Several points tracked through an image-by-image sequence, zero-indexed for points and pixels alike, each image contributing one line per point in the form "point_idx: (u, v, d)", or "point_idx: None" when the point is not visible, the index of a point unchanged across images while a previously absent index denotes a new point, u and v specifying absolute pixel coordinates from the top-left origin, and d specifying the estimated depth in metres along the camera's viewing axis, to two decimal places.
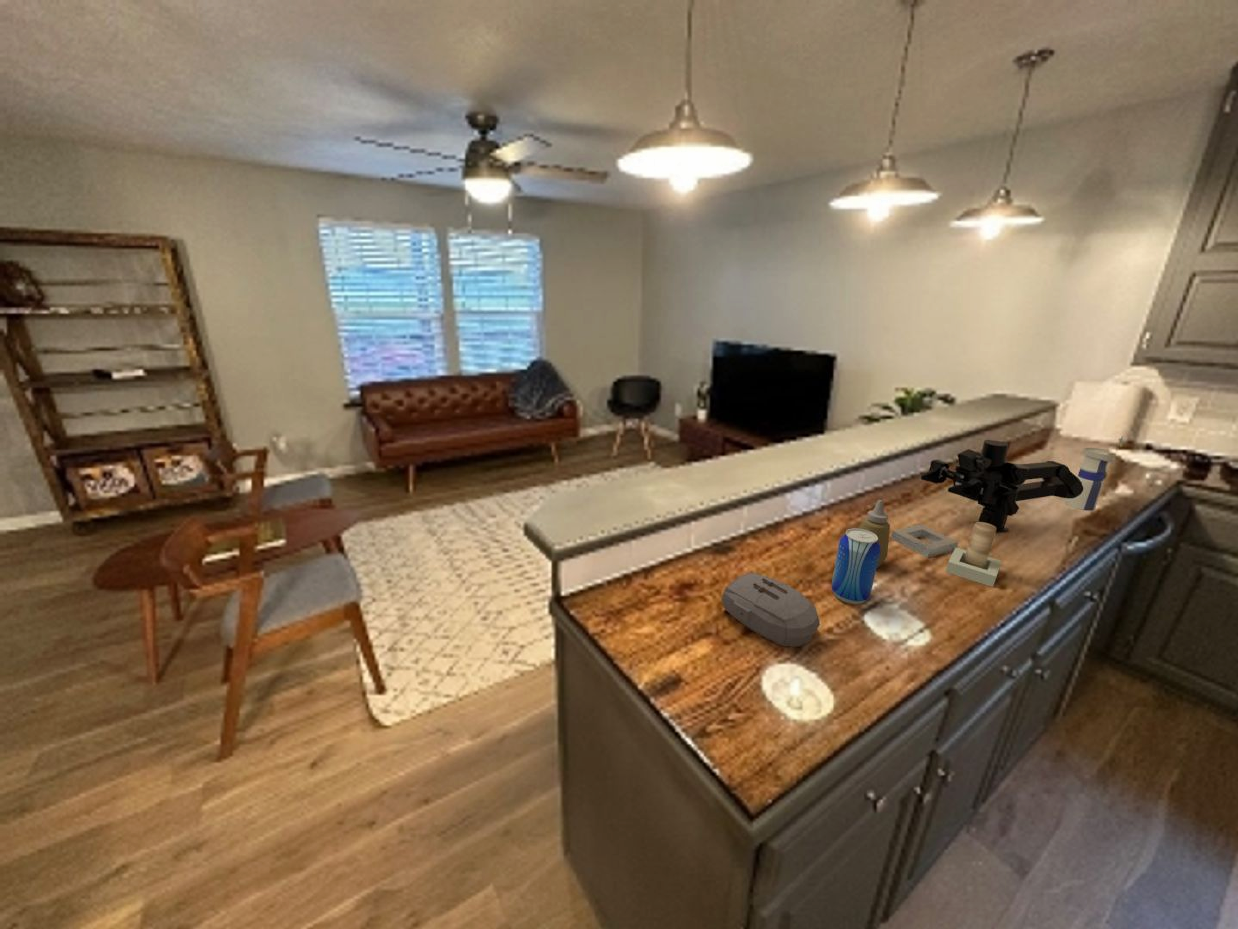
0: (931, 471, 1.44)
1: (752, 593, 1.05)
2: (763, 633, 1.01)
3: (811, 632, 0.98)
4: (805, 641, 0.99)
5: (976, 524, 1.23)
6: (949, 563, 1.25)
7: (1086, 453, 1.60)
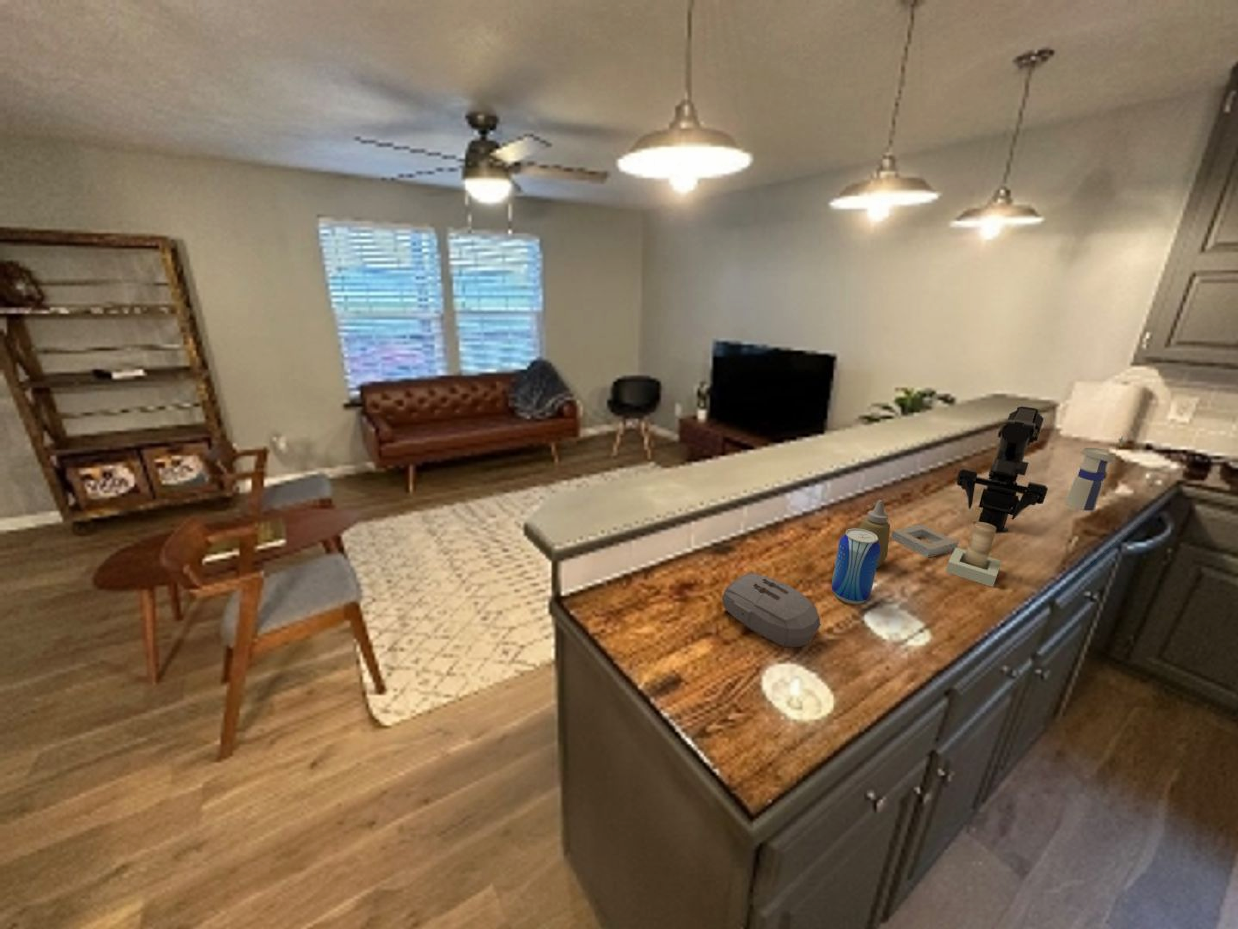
0: (971, 493, 1.31)
1: (753, 594, 1.04)
2: (764, 633, 1.00)
3: (812, 633, 0.98)
4: (806, 641, 0.99)
5: (976, 524, 1.23)
6: (949, 563, 1.25)
7: (1086, 453, 1.60)
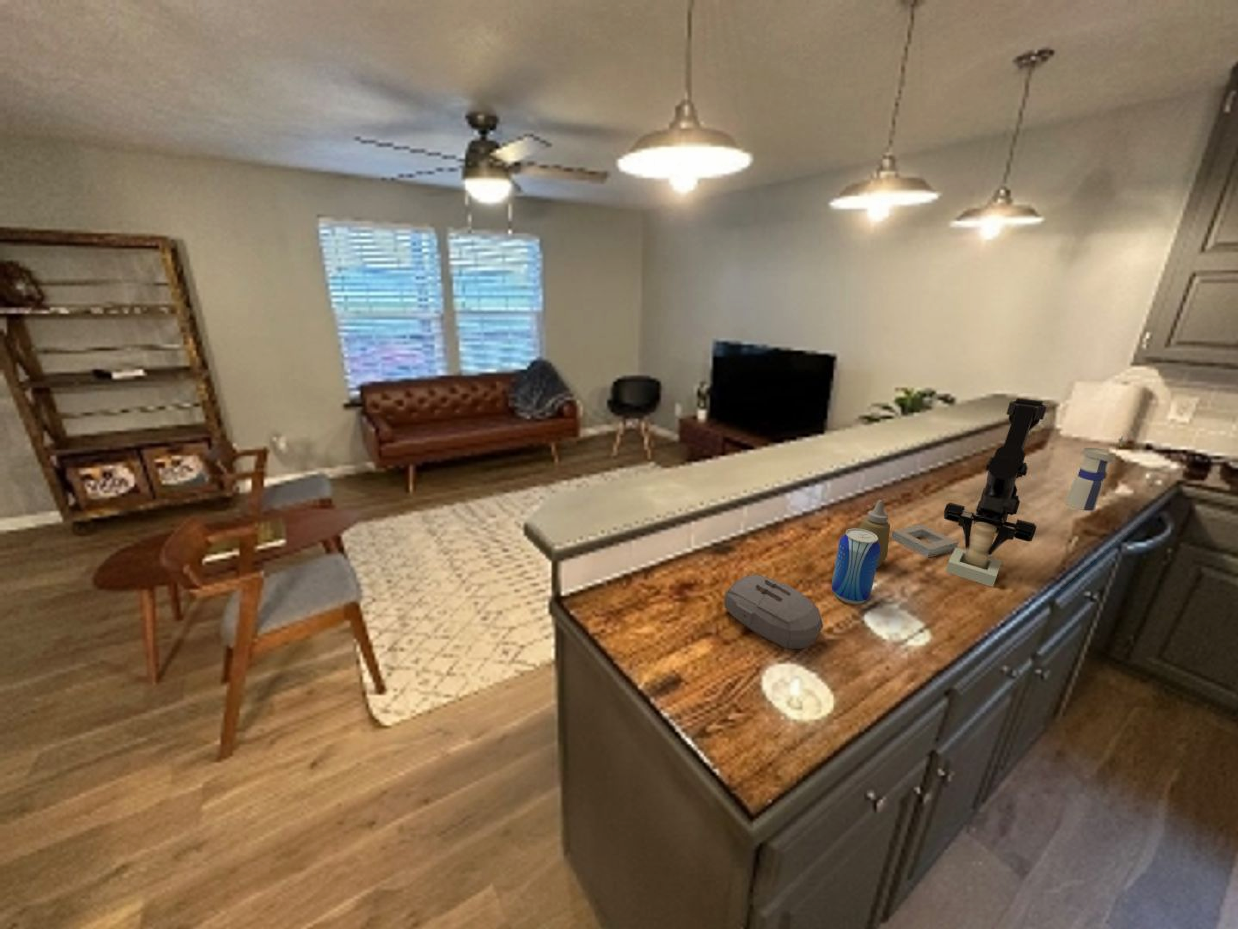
0: (968, 531, 1.26)
1: (755, 595, 1.04)
2: (766, 635, 1.00)
3: (815, 634, 0.98)
4: (808, 643, 0.99)
5: (976, 524, 1.23)
6: (949, 563, 1.25)
7: (1086, 453, 1.60)
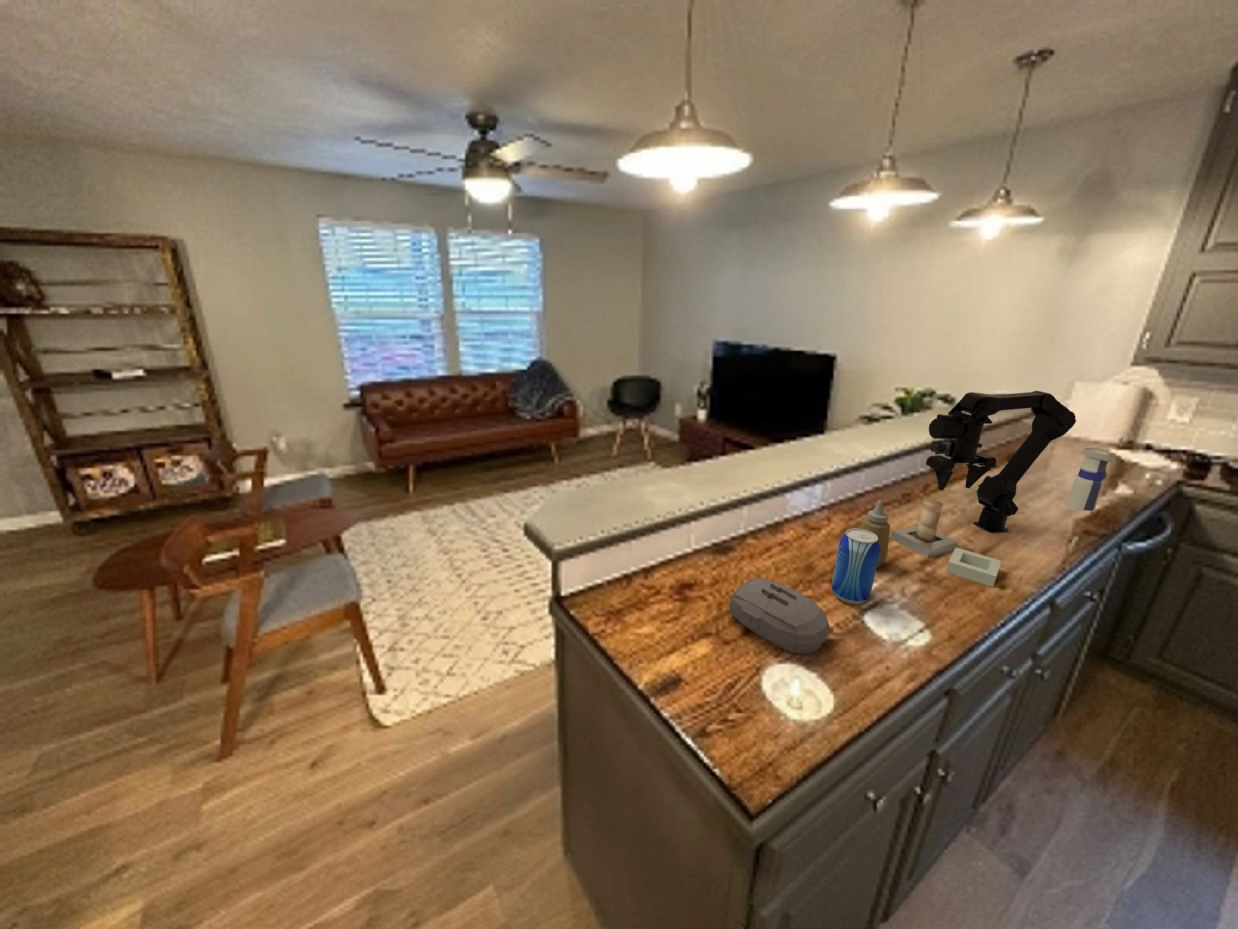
0: None
1: (761, 599, 1.03)
2: (773, 640, 0.99)
3: (822, 639, 0.97)
4: (816, 648, 0.98)
5: (926, 500, 1.37)
6: (949, 563, 1.25)
7: (1086, 453, 1.60)
